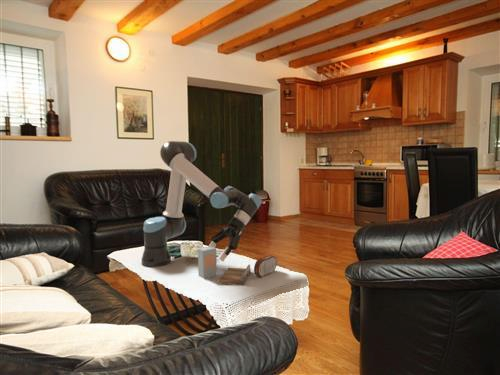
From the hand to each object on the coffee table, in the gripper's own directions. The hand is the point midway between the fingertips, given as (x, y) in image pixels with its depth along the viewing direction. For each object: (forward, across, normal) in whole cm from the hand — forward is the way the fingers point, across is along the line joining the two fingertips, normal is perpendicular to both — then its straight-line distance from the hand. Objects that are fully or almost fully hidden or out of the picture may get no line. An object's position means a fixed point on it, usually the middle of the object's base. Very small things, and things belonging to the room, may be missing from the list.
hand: (213, 256), depth 166 cm
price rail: (-2, -13, -12) cm, 18 cm away
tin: (-8, -14, -21) cm, 26 cm away
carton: (+8, +1, -4) cm, 9 cm away
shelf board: (+2, -9, -11) cm, 14 cm away
